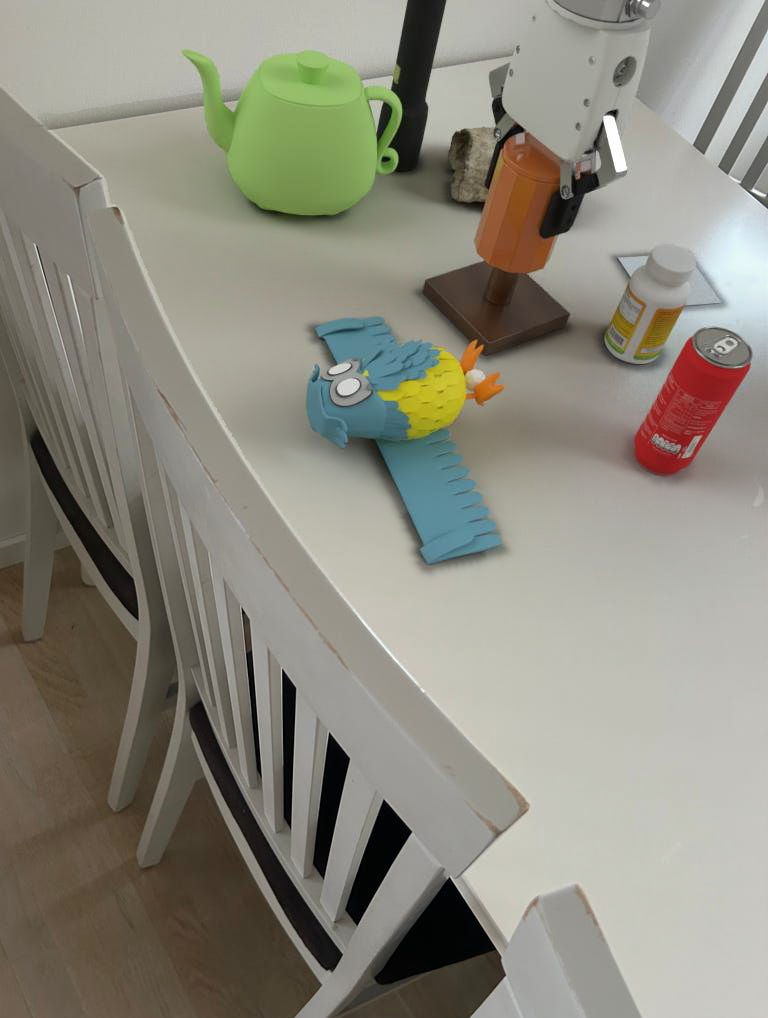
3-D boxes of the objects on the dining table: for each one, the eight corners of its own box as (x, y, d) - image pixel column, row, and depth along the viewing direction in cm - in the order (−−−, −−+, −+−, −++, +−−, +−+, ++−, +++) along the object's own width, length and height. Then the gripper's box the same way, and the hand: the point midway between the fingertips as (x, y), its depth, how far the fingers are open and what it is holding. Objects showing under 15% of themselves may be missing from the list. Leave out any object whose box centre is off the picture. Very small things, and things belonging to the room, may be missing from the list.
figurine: (666, 289, 99) (674, 273, 98) (654, 272, 101) (662, 255, 99) (686, 288, 100) (695, 272, 98) (674, 270, 101) (682, 254, 100)
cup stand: (501, 266, 99) (535, 161, 90) (565, 326, 94) (608, 223, 85) (421, 292, 95) (448, 186, 86) (484, 356, 91) (520, 251, 82)
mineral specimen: (455, 92, 105) (596, 100, 105) (444, 159, 111) (577, 168, 111) (460, 154, 97) (612, 164, 97) (448, 223, 103) (591, 232, 103)
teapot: (177, 221, 97) (178, 86, 86) (183, 137, 106) (184, 4, 95) (396, 239, 99) (424, 109, 89) (385, 155, 108) (410, 27, 97)
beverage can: (617, 451, 86) (676, 339, 76) (653, 427, 88) (715, 315, 78) (663, 488, 84) (730, 378, 74) (699, 462, 86) (769, 353, 76)
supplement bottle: (664, 340, 95) (710, 251, 87) (651, 373, 92) (698, 284, 84) (610, 321, 96) (651, 231, 88) (596, 352, 93) (637, 263, 85)
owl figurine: (576, 466, 71) (382, 502, 68) (541, 541, 79) (363, 578, 75) (433, 233, 86) (265, 253, 82) (414, 315, 93) (259, 336, 89)
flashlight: (407, 143, 109) (365, 147, 108) (460, -114, 90) (410, -113, 88) (425, 169, 107) (382, 173, 106) (484, -90, 87) (433, -88, 86)
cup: (517, 219, 92) (548, 124, 85) (563, 261, 89) (600, 167, 82) (460, 237, 89) (487, 141, 82) (506, 281, 87) (538, 185, 79)
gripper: (722, 32, 69) (623, 255, 84) (562, -75, 76) (497, 147, 91) (645, 51, 66) (557, 278, 81) (487, -62, 74) (433, 165, 88)
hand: (526, 207), depth 86 cm, fingers closed on cup, 6 cm apart
